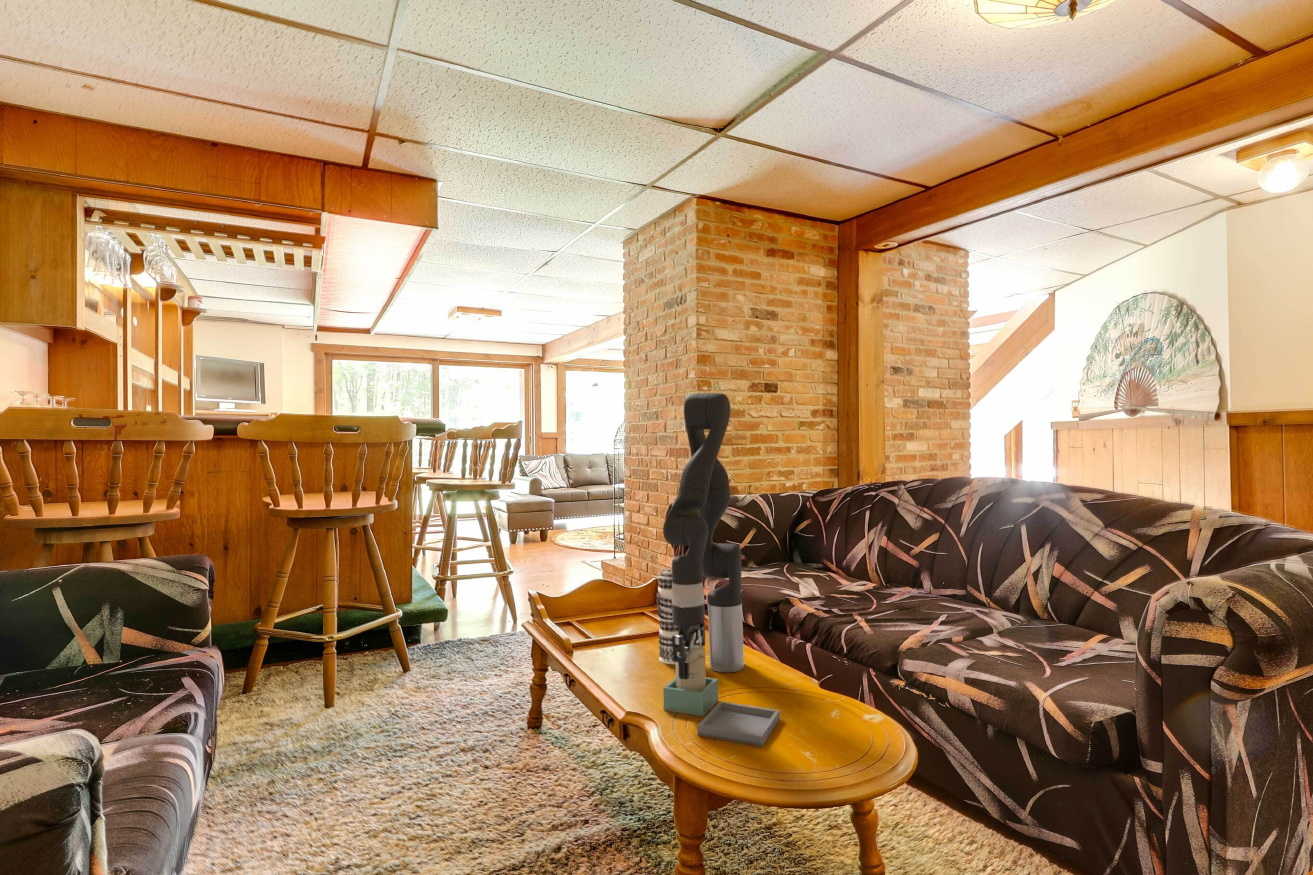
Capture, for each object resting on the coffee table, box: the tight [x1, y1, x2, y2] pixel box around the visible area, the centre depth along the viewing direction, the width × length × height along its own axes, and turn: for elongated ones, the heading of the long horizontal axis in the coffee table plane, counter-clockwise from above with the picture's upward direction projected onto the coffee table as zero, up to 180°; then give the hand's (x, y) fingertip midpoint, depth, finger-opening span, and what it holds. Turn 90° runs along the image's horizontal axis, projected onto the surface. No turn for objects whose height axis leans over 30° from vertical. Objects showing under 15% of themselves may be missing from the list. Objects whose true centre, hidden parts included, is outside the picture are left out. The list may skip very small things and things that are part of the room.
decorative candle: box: [656, 568, 679, 665], centre depth 178 cm, size 9×9×25 cm
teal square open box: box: [662, 676, 719, 717], centre depth 145 cm, size 10×10×5 cm
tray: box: [697, 700, 781, 748], centre depth 133 cm, size 14×14×2 cm
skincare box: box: [674, 645, 707, 692], centre depth 145 cm, size 6×4×12 cm
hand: (690, 672), depth 145 cm, fingers closed on skincare box, 7 cm apart
